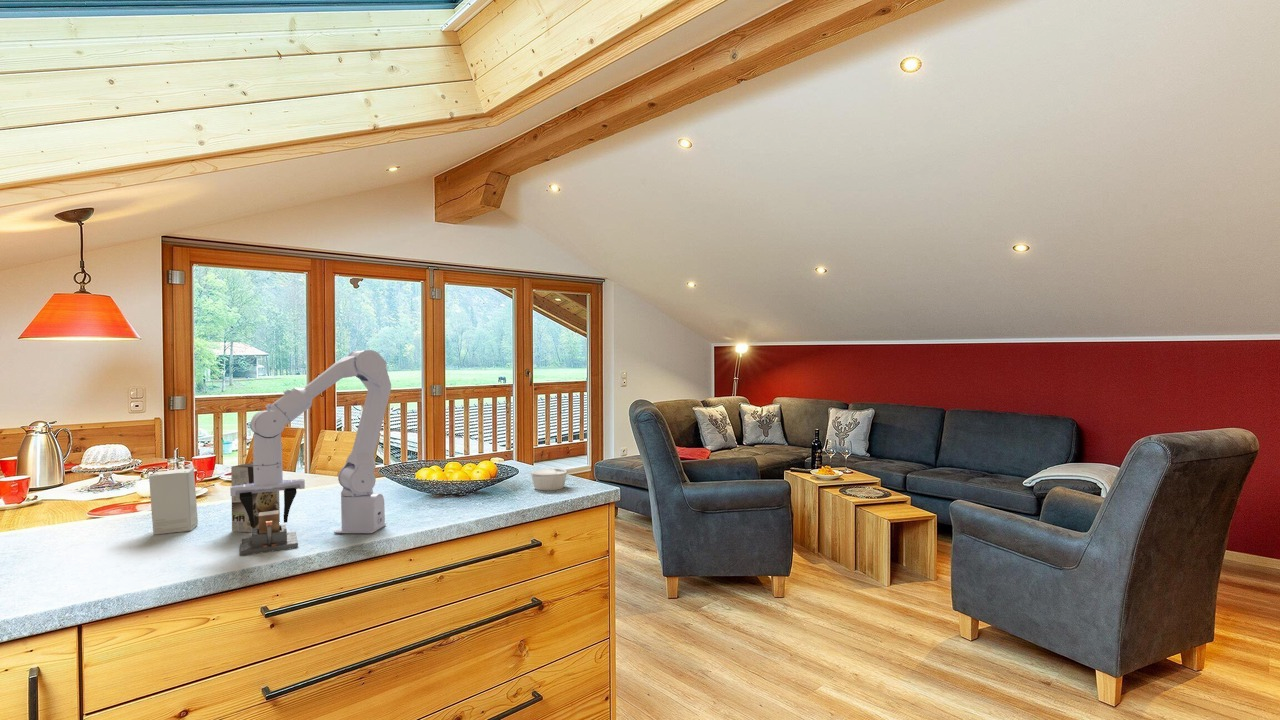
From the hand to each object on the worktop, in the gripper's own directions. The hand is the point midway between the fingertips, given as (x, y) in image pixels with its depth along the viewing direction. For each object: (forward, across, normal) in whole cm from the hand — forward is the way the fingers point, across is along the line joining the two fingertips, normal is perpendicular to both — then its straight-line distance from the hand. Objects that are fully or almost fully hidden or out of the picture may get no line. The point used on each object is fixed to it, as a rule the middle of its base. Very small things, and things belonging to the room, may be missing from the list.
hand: (269, 523), depth 147 cm
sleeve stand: (+5, 0, 0) cm, 5 cm away
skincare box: (+5, -20, +28) cm, 35 cm away
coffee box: (+5, -3, +20) cm, 21 cm away
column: (+4, 0, 0) cm, 4 cm away
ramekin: (+5, +77, +24) cm, 81 cm away
